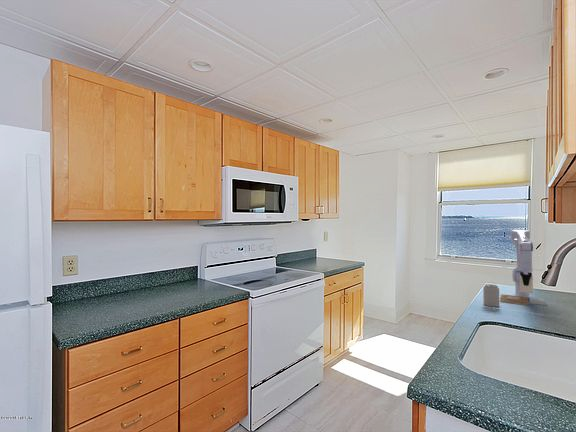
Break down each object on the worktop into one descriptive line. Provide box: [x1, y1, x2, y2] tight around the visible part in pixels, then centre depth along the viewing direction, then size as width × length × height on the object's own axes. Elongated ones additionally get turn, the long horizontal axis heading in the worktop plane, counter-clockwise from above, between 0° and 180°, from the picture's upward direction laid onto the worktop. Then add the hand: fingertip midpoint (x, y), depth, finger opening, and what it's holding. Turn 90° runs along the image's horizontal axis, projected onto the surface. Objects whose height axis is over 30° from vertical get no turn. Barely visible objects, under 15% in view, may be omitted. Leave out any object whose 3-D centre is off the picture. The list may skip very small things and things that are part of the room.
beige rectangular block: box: [520, 276, 534, 294], centre depth 181 cm, size 2×6×9 cm, turn 51°
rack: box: [499, 293, 529, 306], centre depth 182 cm, size 13×13×3 cm
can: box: [482, 283, 500, 308], centre depth 173 cm, size 8×8×12 cm
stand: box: [529, 297, 547, 306], centre depth 177 cm, size 6×7×3 cm
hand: (526, 285), depth 181 cm, fingers closed on beige rectangular block, 2 cm apart
